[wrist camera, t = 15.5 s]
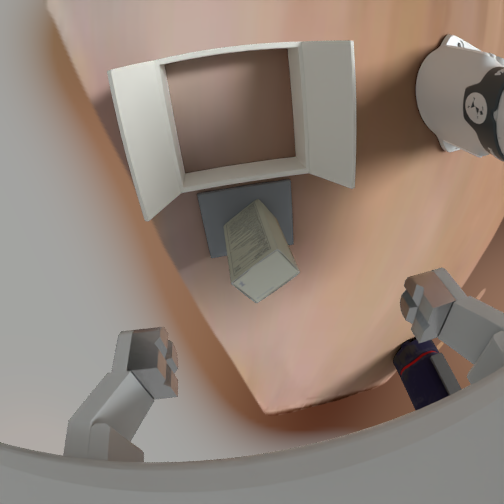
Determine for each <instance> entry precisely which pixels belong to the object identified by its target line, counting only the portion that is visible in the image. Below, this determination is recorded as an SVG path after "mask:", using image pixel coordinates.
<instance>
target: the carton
mask: <svg viewBox="0 0 504 504" xmlns="http://www.w3.org/2000/svg"><path fill="white" fill-rule="evenodd" d="M284 48H287V49H288V59H289V70H290V82H291V94H292V107H293V120H294V136H295V152H296V157H289V158H281V159H273V160H265V161H258V162H251V163H244V164H238V165H231V166H225V167H219V168H213V169H208V170H202V171H196V172H191V173H186V174H185V170H184V165H183V160H182V155H181V151H180V146H179V141H178V136H177V130H176V125H175V120H174V115H173V109H172V104H171V98H170V93H169V87H168V81H167V75H166V69H165V64H169V63H174V62H179V61H184V60H189V59H194V58H200V57H206V56H213V55H220V54H227V53H235V52H244V51H255V50H267V49H284ZM107 74H108V79H109V84H110V89H111V94H112V99H113V103H114V108H115V112H116V117H117V121H118V125H119V129H120V134H121V138H122V142H123V146H124V150H125V153H126V157H127V161H128V165H129V168H130V172H131V176H132V179H133V183H134V186H135V190H136V193H137V196H138V199H139V203H140V206H141V209H142V213H143V216H144V219H145V221H150V220H151V219H152V218H153V217H154V216H155V215H157V214H158V213H159V212H160V211H161V210H162V209H163V208H165V207H166V206H167V205H168V204H169V203H170V202H172V201H173V200H174V199H175V198H176V197H178V196H179V195H180V194H181V193H185V192H190V191H196V190H201V189H207V188H212V187H218V186H224V185H230V184H236V183H243V182H249V181H256V180H262V179H269V178H276V177H284V176H291V175H299V174H307V173H310V174H312V175H315V176H318V177H321V178H324V179H326V180H329V181H332V182H335V183H337V184H340V185H343V186H345V187H348V188H351V189H353V188H355V168H356V79H355V58H354V42H353V41H306V42H280V43H263V44H251V45H241V46H232V47H224V48H217V49H210V50H203V51H197V52H192V53H186V54H181V55H176V56H171V57H167V58H162V59H158V60H153V61H148V62H143V63H138V64H133V65H129V66H125V67H120V68H116V69H112V70H109V71H107Z"/></svg>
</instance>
